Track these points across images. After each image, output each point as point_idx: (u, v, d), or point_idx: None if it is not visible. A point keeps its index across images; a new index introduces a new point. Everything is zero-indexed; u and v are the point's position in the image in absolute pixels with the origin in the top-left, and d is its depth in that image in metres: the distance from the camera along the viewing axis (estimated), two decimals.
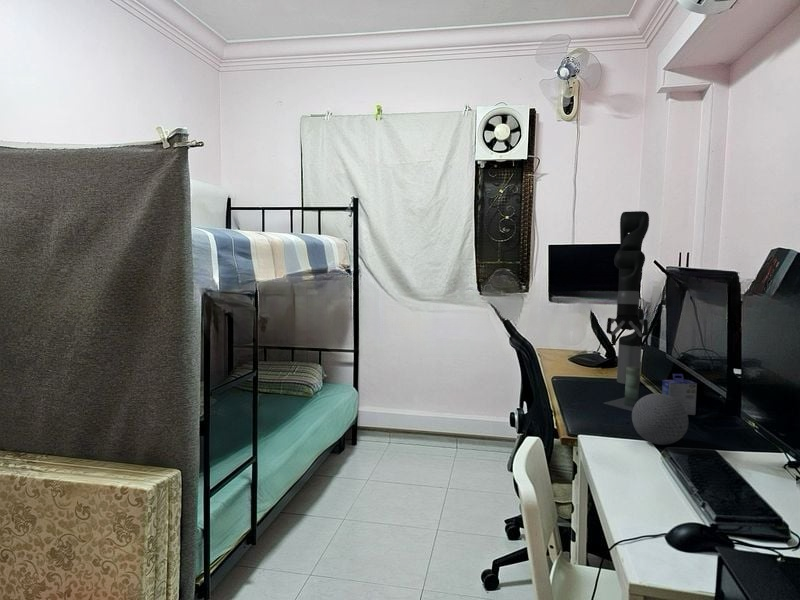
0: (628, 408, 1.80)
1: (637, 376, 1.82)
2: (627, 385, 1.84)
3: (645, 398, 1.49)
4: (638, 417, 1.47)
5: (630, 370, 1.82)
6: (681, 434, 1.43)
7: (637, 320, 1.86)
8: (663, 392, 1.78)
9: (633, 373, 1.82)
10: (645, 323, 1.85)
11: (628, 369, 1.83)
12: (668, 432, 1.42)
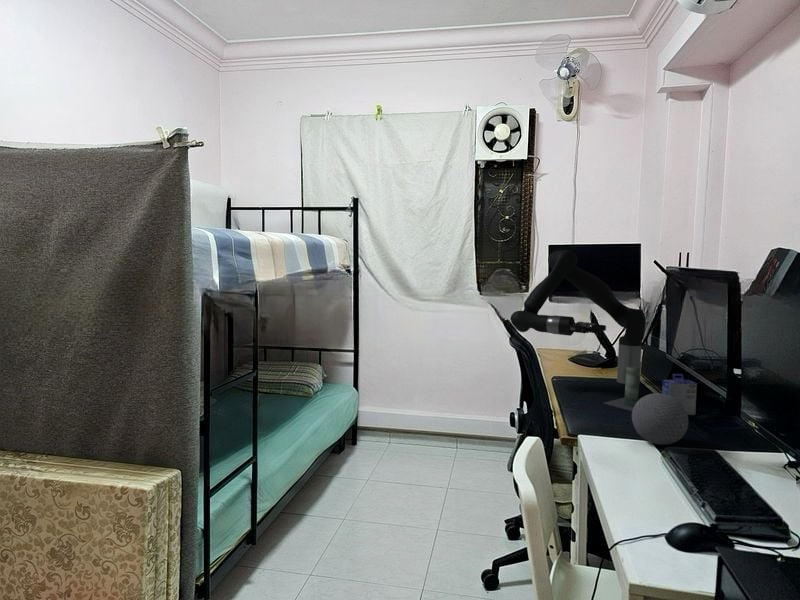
0: (628, 408, 1.80)
1: (637, 376, 1.82)
2: (627, 385, 1.84)
3: (645, 398, 1.49)
4: (638, 417, 1.47)
5: (630, 370, 1.82)
6: (681, 434, 1.43)
7: None
8: (663, 392, 1.78)
9: (633, 373, 1.82)
10: (574, 331, 1.90)
11: (628, 369, 1.83)
12: (668, 432, 1.42)
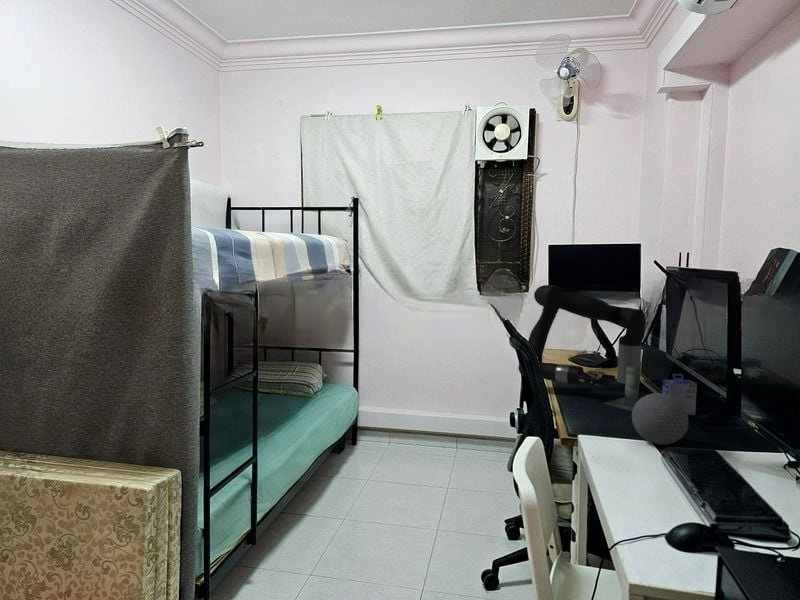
0: (628, 408, 1.80)
1: (637, 376, 1.82)
2: (627, 385, 1.84)
3: (645, 398, 1.49)
4: (638, 417, 1.47)
5: (630, 370, 1.82)
6: (681, 434, 1.43)
7: None
8: (663, 392, 1.78)
9: (633, 373, 1.82)
10: None
11: (628, 369, 1.83)
12: (668, 432, 1.42)
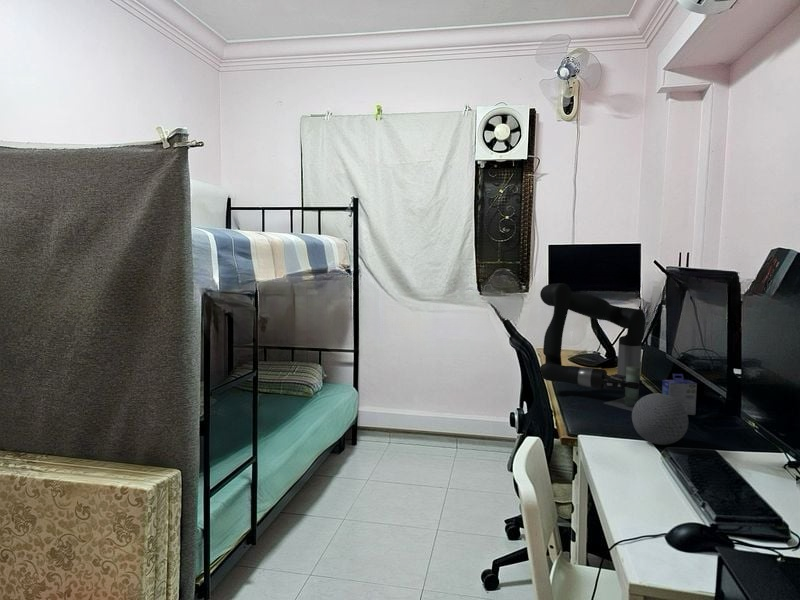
0: (628, 408, 1.80)
1: (637, 376, 1.82)
2: None
3: (645, 398, 1.49)
4: (638, 417, 1.47)
5: (630, 370, 1.82)
6: (681, 434, 1.43)
7: None
8: (663, 392, 1.78)
9: (633, 373, 1.82)
10: None
11: (628, 369, 1.83)
12: (668, 432, 1.42)
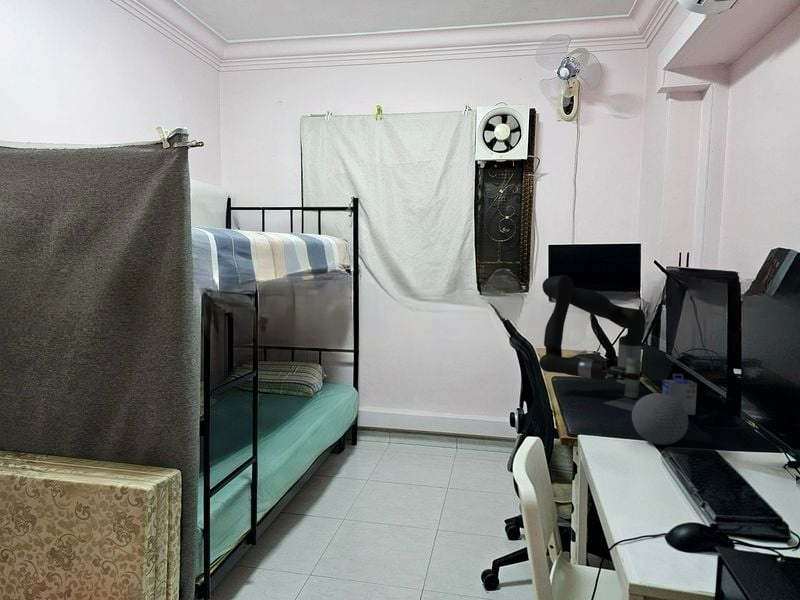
0: (628, 408, 1.80)
1: (638, 367, 1.82)
2: None
3: (645, 398, 1.49)
4: (638, 417, 1.47)
5: (630, 361, 1.82)
6: (681, 434, 1.43)
7: None
8: (663, 392, 1.78)
9: (633, 364, 1.82)
10: (611, 378, 1.83)
11: (628, 360, 1.83)
12: (668, 432, 1.42)
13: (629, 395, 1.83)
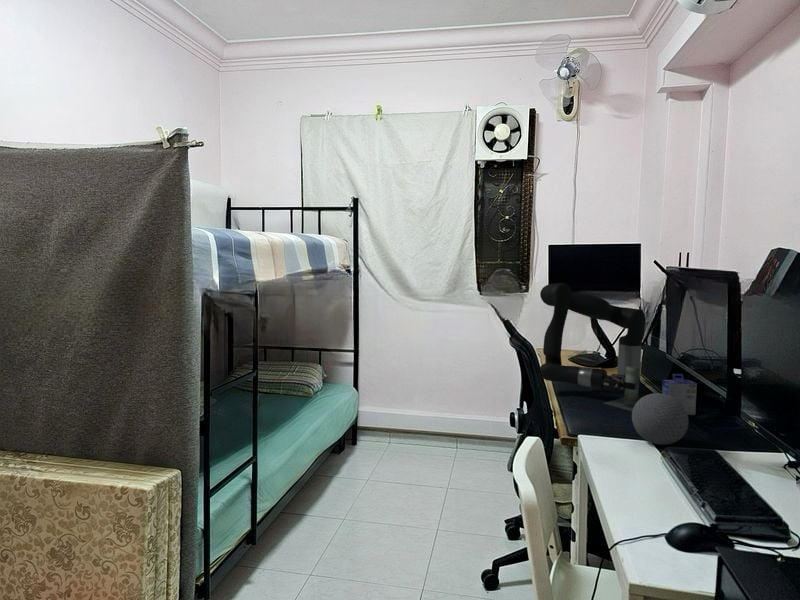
0: (628, 408, 1.80)
1: (637, 376, 1.82)
2: None
3: (645, 398, 1.49)
4: (638, 417, 1.47)
5: (630, 370, 1.82)
6: (681, 434, 1.43)
7: None
8: (663, 392, 1.78)
9: (633, 373, 1.82)
10: None
11: (628, 369, 1.83)
12: (668, 432, 1.42)
13: (629, 404, 1.83)
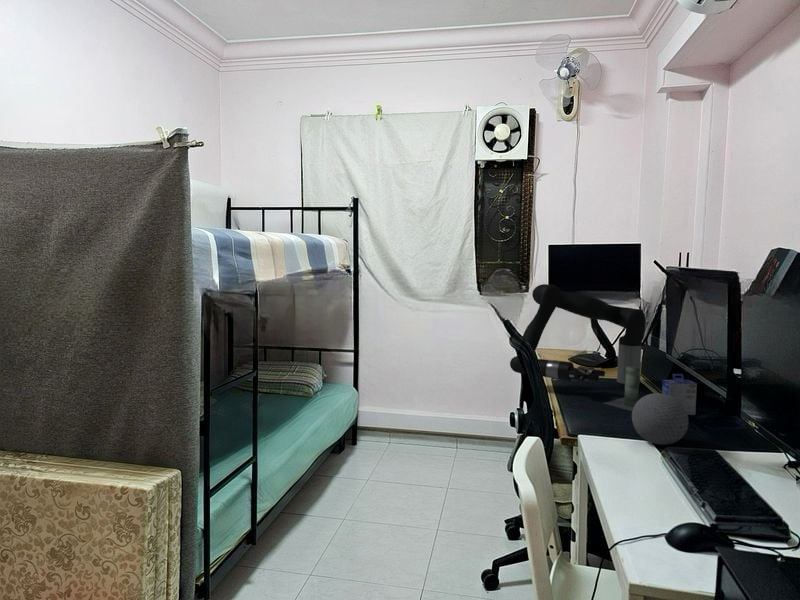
0: (628, 408, 1.80)
1: (637, 376, 1.82)
2: (627, 385, 1.84)
3: (645, 398, 1.49)
4: (638, 417, 1.47)
5: (630, 370, 1.82)
6: (681, 434, 1.43)
7: None
8: (663, 392, 1.78)
9: (633, 373, 1.82)
10: (573, 378, 1.92)
11: (628, 369, 1.83)
12: (668, 432, 1.42)
13: (629, 404, 1.83)
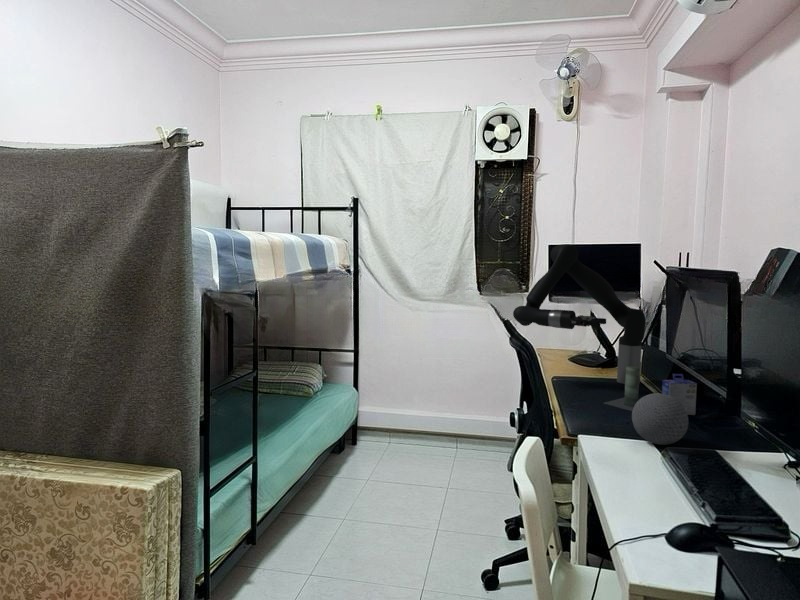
0: (628, 408, 1.80)
1: (637, 376, 1.82)
2: (627, 385, 1.84)
3: (645, 398, 1.49)
4: (638, 417, 1.47)
5: (630, 370, 1.82)
6: (681, 434, 1.43)
7: None
8: (663, 392, 1.78)
9: (633, 373, 1.82)
10: None
11: (628, 369, 1.83)
12: (668, 432, 1.42)
13: (629, 404, 1.83)
